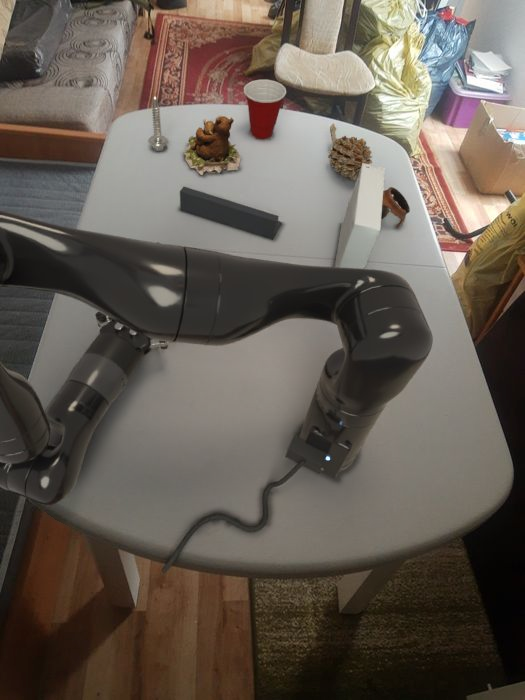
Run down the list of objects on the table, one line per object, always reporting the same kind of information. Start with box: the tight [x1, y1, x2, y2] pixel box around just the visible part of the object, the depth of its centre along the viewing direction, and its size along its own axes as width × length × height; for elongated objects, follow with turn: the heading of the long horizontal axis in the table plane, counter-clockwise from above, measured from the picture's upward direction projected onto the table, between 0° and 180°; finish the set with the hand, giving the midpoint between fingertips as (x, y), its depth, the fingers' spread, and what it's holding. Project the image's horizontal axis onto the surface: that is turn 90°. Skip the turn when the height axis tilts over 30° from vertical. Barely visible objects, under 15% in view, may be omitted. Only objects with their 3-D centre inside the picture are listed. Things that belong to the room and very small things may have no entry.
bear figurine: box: [183, 114, 242, 176], centre depth 116 cm, size 14×15×12 cm
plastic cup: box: [243, 79, 287, 140], centre depth 126 cm, size 11×11×12 cm
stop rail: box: [179, 186, 283, 241], centre depth 105 cm, size 6×22×5 cm, turn 70°
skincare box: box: [334, 163, 386, 269], centre depth 97 cm, size 21×5×16 cm, turn 168°
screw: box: [147, 95, 169, 152], centre depth 116 cm, size 13×5×5 cm
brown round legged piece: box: [381, 186, 411, 228], centre depth 110 cm, size 12×10×8 cm
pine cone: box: [327, 122, 373, 181], centre depth 121 cm, size 22×10×10 cm, turn 19°
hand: (157, 293), depth 82 cm, fingers closed
